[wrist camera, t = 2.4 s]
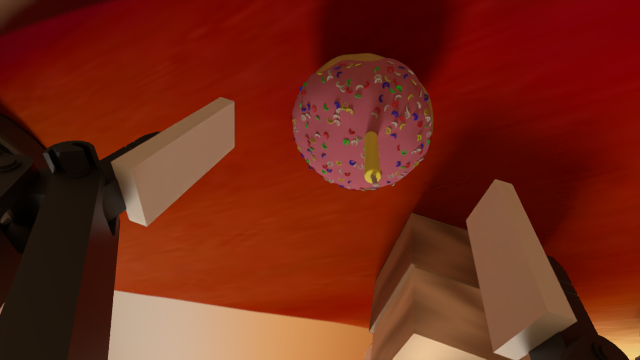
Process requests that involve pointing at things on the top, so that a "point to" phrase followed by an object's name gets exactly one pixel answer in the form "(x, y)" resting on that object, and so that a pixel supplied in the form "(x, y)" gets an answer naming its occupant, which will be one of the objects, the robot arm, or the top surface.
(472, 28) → the top surface
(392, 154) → the cupcake
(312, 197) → the top surface
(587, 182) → the top surface
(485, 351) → the block top
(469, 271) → the block bottom
